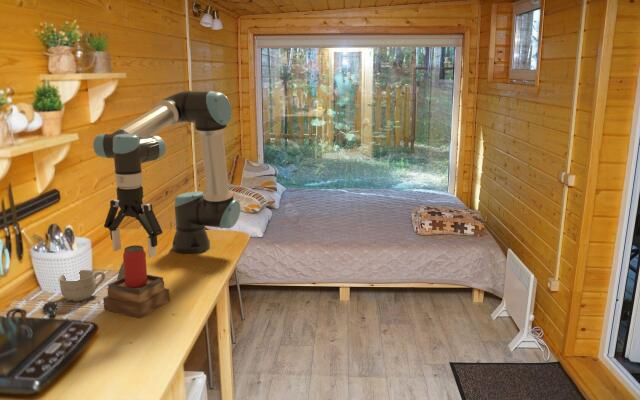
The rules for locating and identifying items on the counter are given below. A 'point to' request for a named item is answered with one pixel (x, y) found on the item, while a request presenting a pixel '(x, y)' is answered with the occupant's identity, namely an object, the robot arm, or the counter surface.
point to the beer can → (135, 266)
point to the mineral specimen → (121, 271)
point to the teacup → (80, 285)
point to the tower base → (137, 307)
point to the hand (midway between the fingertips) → (134, 253)
